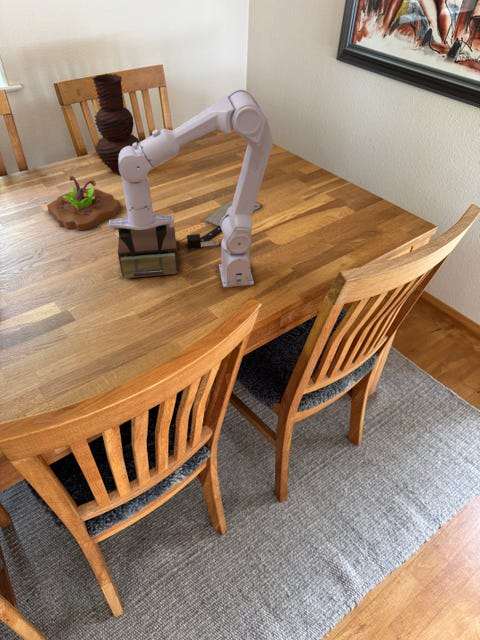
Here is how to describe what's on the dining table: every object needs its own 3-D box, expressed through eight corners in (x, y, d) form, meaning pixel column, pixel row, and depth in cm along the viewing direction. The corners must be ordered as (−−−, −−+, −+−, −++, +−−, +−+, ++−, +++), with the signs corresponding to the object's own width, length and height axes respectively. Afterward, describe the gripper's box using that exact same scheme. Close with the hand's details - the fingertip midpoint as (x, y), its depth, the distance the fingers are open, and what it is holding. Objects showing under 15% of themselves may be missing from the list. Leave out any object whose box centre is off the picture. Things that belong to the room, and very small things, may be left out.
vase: (92, 175, 161) (71, 82, 141) (113, 157, 172) (97, 68, 151) (132, 181, 158) (117, 88, 137) (151, 162, 169) (140, 73, 148)
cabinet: (179, 272, 122) (176, 248, 117) (122, 277, 120) (117, 253, 115) (175, 241, 132) (173, 218, 127) (124, 245, 130) (119, 222, 125)
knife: (188, 249, 129) (187, 240, 127) (187, 243, 131) (186, 235, 128) (219, 246, 130) (219, 237, 128) (218, 240, 132) (218, 232, 129)
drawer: (178, 288, 116) (176, 269, 112) (123, 293, 114) (119, 274, 110) (174, 244, 130) (172, 226, 126) (125, 248, 128) (122, 230, 124)
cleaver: (177, 234, 135) (203, 246, 130) (177, 232, 134) (203, 244, 130) (238, 196, 152) (263, 205, 147) (238, 194, 151) (263, 204, 147)
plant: (90, 189, 154) (83, 156, 146) (129, 209, 145) (123, 175, 137) (38, 213, 142) (26, 179, 135) (76, 236, 134) (67, 201, 126)
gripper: (170, 191, 106) (175, 241, 116) (106, 196, 104) (116, 246, 114) (172, 207, 101) (177, 257, 111) (104, 212, 99) (115, 263, 109)
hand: (146, 253), depth 112 cm, fingers open, 6 cm apart
